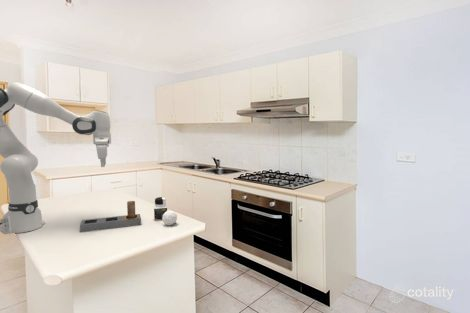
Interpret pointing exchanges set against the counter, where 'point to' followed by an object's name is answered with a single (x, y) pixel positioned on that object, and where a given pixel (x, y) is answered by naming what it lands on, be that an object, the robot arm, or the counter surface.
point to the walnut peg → (131, 209)
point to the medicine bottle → (159, 208)
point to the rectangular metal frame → (109, 223)
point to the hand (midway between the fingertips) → (103, 165)
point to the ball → (169, 217)
